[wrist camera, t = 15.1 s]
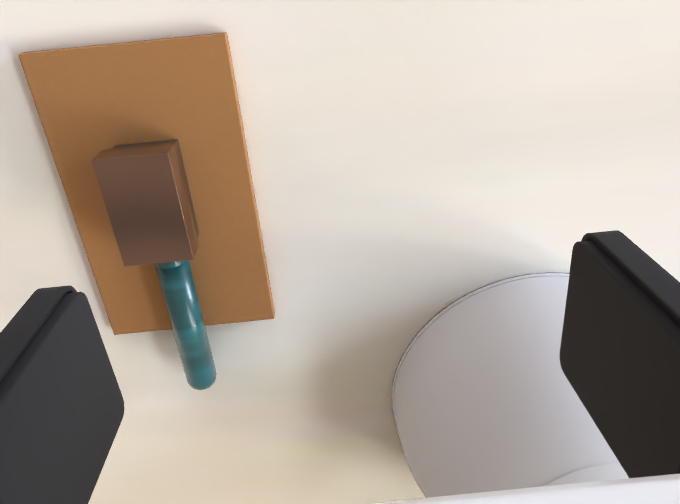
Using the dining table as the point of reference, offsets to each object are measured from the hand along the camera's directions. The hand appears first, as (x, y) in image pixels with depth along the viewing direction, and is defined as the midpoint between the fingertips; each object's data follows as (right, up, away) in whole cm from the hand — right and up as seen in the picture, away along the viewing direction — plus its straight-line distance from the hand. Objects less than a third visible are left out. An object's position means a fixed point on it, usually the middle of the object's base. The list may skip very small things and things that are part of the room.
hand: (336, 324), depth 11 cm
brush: (-11, 0, +28) cm, 30 cm away
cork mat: (-12, +5, +26) cm, 29 cm away
